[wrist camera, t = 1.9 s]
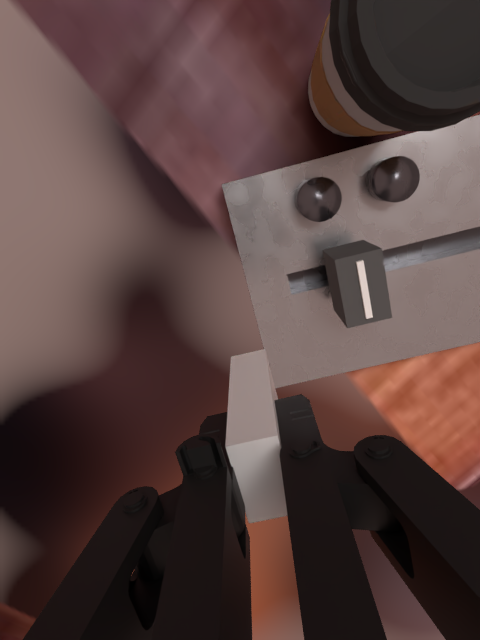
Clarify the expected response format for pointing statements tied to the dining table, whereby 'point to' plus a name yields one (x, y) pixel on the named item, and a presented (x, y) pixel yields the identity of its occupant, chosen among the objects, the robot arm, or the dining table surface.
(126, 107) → the dining table surface
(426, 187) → the console
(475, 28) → the coffee cup
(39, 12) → the dining table surface
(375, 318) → the fader
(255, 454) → the robot arm
